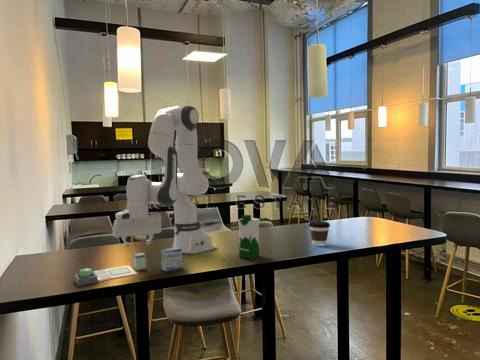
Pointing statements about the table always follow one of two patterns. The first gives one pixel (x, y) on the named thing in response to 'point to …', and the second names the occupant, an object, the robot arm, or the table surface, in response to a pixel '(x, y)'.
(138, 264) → the marker block
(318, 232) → the coffee cup
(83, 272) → the button
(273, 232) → the table surface
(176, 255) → the medicine box
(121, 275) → the picture board
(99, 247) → the table surface
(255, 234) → the milk carton
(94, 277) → the button housing
